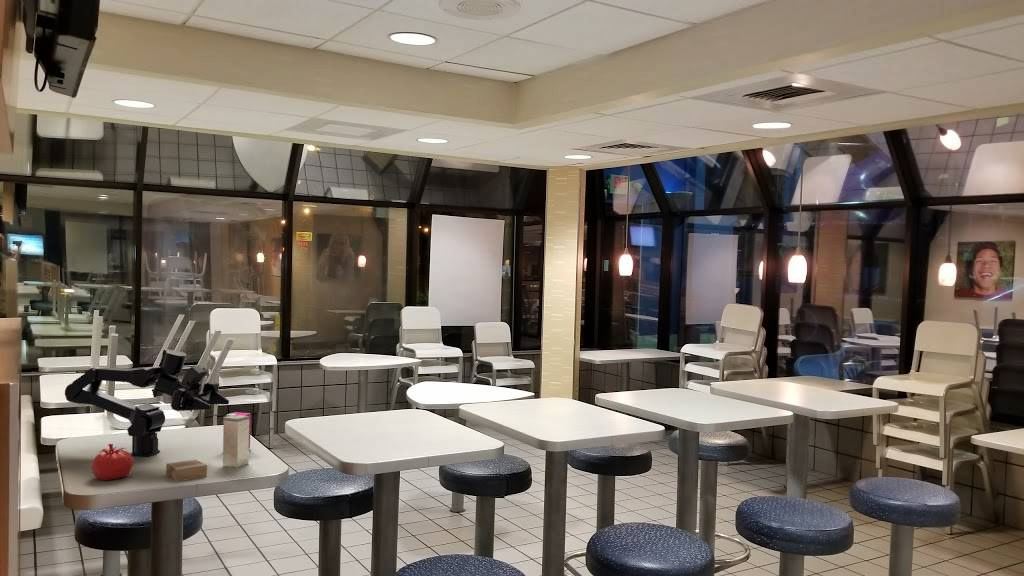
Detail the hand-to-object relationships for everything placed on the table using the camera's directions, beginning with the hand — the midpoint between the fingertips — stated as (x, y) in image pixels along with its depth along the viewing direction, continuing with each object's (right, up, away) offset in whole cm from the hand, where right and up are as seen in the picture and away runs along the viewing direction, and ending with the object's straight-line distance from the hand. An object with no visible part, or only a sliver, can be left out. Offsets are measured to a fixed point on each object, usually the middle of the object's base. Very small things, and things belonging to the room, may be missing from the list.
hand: (219, 405), depth 232 cm
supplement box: (0, -16, +14) cm, 22 cm away
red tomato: (-21, -17, -21) cm, 34 cm away
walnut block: (-2, -17, -18) cm, 25 cm away
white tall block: (+7, -17, -5) cm, 19 cm away
